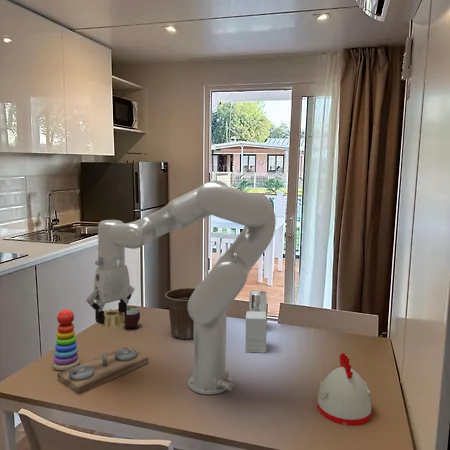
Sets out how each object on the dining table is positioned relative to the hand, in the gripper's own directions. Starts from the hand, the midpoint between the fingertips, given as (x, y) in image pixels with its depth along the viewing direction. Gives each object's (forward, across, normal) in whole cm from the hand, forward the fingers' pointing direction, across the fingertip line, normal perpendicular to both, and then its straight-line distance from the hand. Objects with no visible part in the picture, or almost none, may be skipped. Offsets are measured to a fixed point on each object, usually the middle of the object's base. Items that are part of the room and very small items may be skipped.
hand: (111, 319), depth 124 cm
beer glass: (+17, +60, -13) cm, 64 cm away
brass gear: (+1, 0, 0) cm, 1 cm away
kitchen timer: (+17, +29, -62) cm, 71 cm away
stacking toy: (+19, -5, +17) cm, 26 cm away
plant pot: (+18, +39, +6) cm, 43 cm away
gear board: (+19, +1, +4) cm, 19 cm away
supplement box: (+17, +45, -23) cm, 53 cm away
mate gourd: (+19, +28, +27) cm, 43 cm away
